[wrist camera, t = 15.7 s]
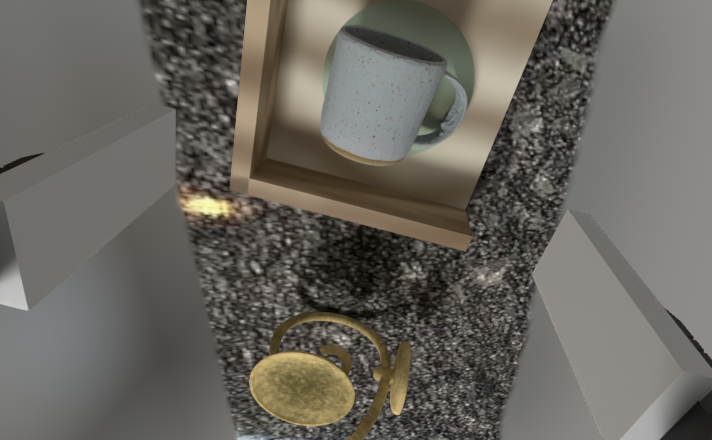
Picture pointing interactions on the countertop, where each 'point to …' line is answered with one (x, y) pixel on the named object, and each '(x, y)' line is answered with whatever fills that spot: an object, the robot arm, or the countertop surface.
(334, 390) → the wall sconce
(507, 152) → the countertop surface
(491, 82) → the tray
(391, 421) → the countertop surface
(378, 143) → the ceramic mug
